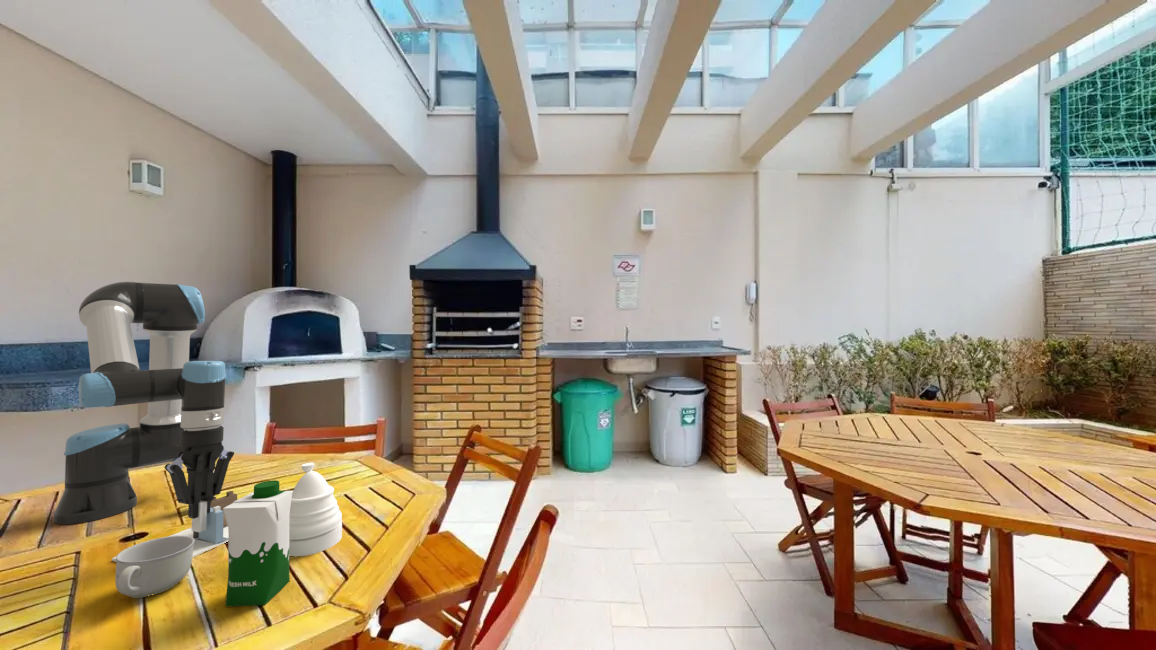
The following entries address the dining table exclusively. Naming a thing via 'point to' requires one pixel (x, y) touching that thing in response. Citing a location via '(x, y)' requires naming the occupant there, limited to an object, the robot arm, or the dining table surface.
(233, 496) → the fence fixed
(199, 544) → the card
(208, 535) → the fence panel
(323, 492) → the honey pot
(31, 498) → the dining table surface
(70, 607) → the dining table surface
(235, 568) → the milk carton
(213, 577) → the dining table surface
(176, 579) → the teacup
